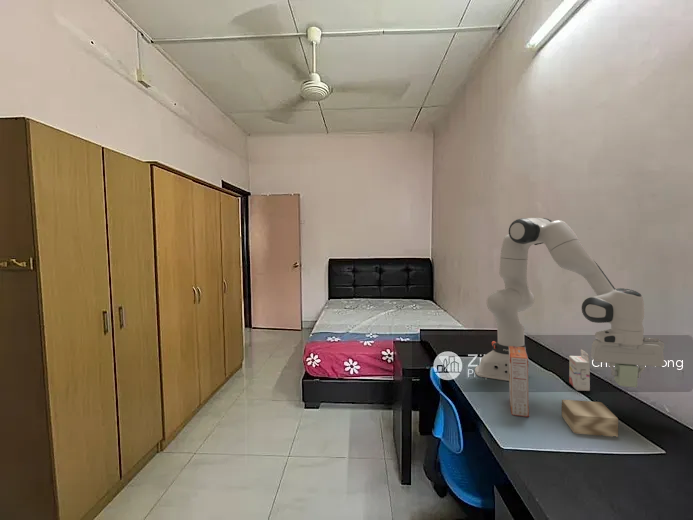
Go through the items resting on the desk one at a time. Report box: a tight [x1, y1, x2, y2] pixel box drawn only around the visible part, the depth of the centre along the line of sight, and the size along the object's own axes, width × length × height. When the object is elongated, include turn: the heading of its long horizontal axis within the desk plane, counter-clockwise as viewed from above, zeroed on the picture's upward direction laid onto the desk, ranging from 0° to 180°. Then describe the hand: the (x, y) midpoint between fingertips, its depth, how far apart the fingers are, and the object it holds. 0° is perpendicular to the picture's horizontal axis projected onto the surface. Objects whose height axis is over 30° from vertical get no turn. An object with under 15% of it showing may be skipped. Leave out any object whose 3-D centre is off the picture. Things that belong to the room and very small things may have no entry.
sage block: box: [614, 363, 639, 389], centre depth 128 cm, size 5×5×7 cm
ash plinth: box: [561, 399, 619, 438], centre depth 121 cm, size 12×12×6 cm
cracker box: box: [508, 346, 530, 418], centre depth 135 cm, size 14×6×21 cm, turn 159°
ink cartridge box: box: [568, 349, 591, 392], centre depth 153 cm, size 9×5×15 cm, turn 168°
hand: (625, 376), depth 128 cm, fingers closed on sage block, 5 cm apart
